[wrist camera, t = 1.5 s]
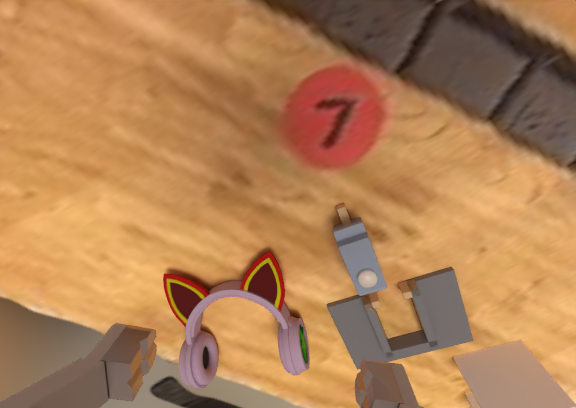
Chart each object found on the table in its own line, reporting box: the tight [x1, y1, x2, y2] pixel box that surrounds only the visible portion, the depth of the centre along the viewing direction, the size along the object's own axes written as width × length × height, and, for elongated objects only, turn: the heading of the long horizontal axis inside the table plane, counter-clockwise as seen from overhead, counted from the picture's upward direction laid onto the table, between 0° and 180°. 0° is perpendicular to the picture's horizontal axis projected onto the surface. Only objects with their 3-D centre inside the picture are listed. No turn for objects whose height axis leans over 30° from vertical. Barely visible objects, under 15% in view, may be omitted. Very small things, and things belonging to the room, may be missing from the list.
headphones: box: [163, 252, 309, 389], centre depth 45 cm, size 20×10×20 cm
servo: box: [333, 204, 387, 296], centre depth 39 cm, size 4×12×7 cm, turn 24°
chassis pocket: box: [327, 267, 473, 369], centre depth 46 cm, size 20×15×2 cm
